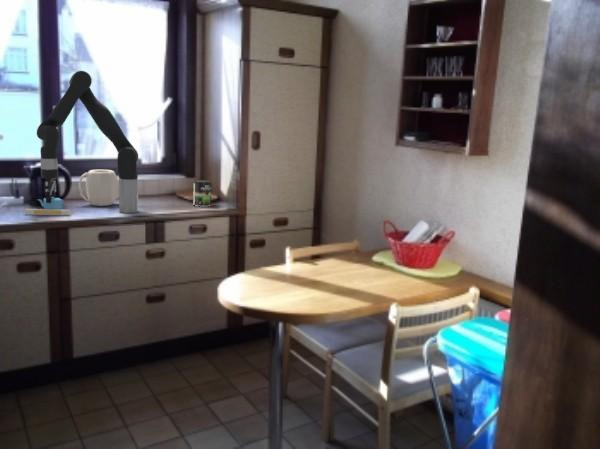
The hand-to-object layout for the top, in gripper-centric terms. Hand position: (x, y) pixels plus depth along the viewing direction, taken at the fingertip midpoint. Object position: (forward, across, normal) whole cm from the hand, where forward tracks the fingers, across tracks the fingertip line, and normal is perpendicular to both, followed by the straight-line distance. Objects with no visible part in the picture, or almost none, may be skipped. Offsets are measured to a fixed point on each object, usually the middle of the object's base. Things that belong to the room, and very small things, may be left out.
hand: (50, 201), depth 273 cm
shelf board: (+7, 0, 0) cm, 7 cm away
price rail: (+6, +5, 0) cm, 8 cm away
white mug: (+7, -33, +20) cm, 39 cm away
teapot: (+6, 0, 0) cm, 6 cm away
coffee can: (+8, -36, +73) cm, 82 cm away
